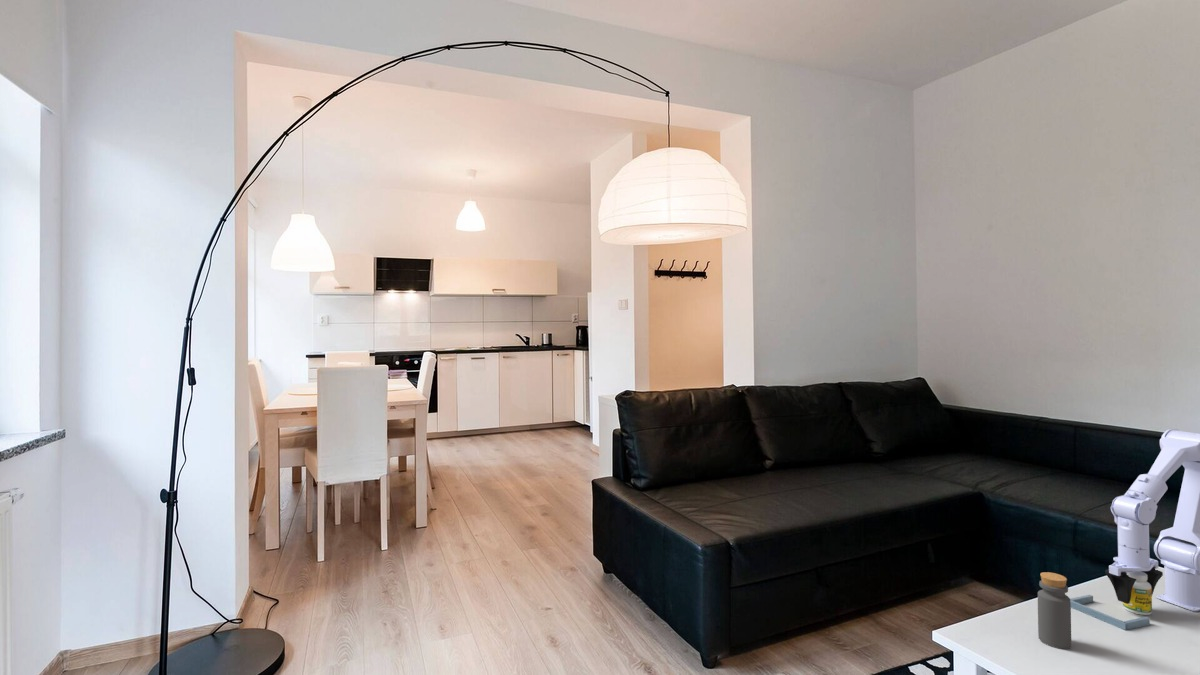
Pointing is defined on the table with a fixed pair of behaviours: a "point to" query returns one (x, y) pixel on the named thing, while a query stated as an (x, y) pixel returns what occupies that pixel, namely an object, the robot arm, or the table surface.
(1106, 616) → the blue-grey u-shaped bracket
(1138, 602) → the supplement bottle
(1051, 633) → the bottle
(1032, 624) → the table surface
